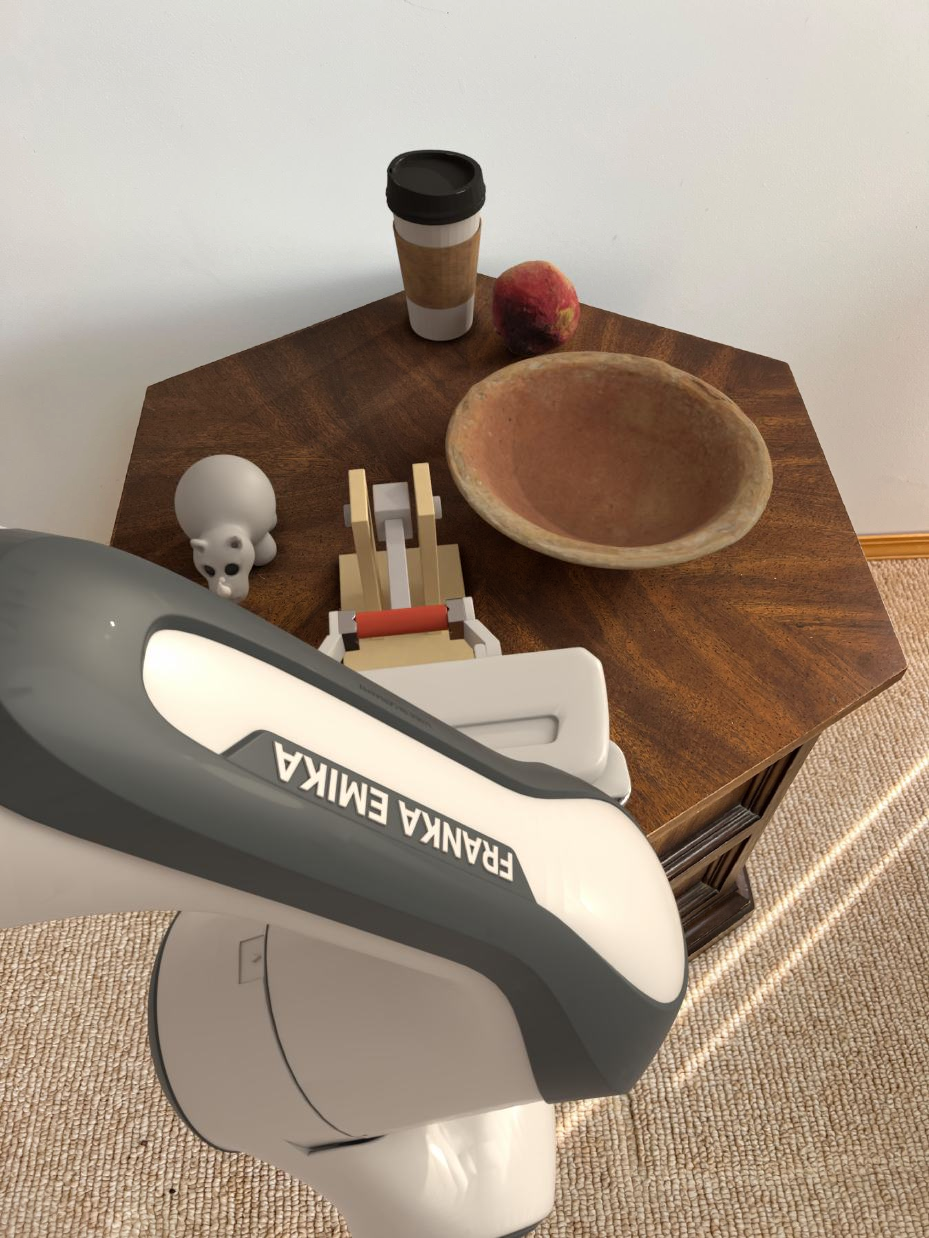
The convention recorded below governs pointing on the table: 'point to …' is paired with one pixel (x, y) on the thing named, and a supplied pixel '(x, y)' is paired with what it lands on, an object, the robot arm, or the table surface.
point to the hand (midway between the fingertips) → (400, 610)
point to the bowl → (608, 460)
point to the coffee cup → (437, 237)
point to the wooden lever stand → (428, 578)
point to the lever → (397, 572)
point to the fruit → (534, 308)
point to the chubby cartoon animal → (227, 521)
